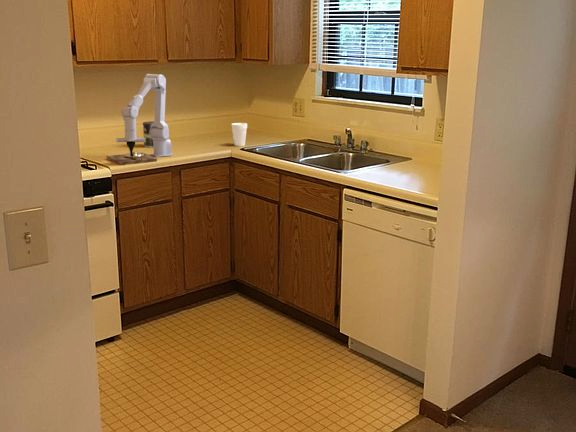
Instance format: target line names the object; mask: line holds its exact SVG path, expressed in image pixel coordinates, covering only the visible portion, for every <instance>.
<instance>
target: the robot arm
mask: <svg viewBox="0 0 576 432" xmlns="http://www.w3.org/2000/svg"><path fill="white" fill-rule="evenodd" d="M166 87H167V79H166V77H165V75H163V74H161V73H160V74H156V73H155V74H154V73H152V74H151V73H146V74H145V77H144V78H143V83H142V85H141V86H140V89H139V91H138V92H137V94H134V95H132V97H131V99H130V100H129V102H128V104H127V105H126V106H124V107H123V108H122V109H121V111H120V112H121V116H122V118H123V122H124V137H119V138H118V137H116V141H115V142H116V143H126V145H127V147H128V149H129V153H130V156H133V155H132V152H134V147H135V145H136V143H144V142H145V138H144V137H137V119H136V118H138V115H139V111H140V108H141V106H142V105H143V104H144V98H145V96H146V95H147V94H148V92H149V91H150V90H151V89H152V90H153V92H155V95H154V97H155V99H154V100H155V101H154V122H153V123H152V124H151V128H150V132H149V134H150V136H151V137H152V139H153V153H151V154H150V156H152V157H154V158H161V157H168V156H173V153H172V151H173V150H172V141H171V139H170V138H169V136H170V130H169V125H168V124H167V123H166V122H165V119H166V118H165V117H166V95H167V94H166V91H167V89H166Z"/></svg>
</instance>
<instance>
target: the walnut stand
mask: <svg viewBox="0 0 576 432" xmlns="http://www.w3.org/2000/svg"><path fill="white" fill-rule="evenodd" d="M143 153H144V152H143ZM125 154H126V153H124V154H114V155H107V156H106V159H107V160H109V161H111V162H112V163H115V164H117V165H119V166H125V164H128V165H136V164H145V163H152V162H153V163H154V162H158V159H157V158H158V157H155V156H153V155H151V154H150V155H149V154H148V153H144V156H143V154H141V157H139V158H137V159H132V158H128V157H125Z"/></svg>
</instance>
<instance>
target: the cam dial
mask: <svg viewBox="0 0 576 432" xmlns="http://www.w3.org/2000/svg"><path fill="white" fill-rule="evenodd" d="M124 154H125V157H128V158H132V159H137V158H139V157H141V154H143V156H144V152H137V151H132V155H133V156H130V152H127V153H124Z"/></svg>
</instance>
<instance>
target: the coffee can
mask: <svg viewBox="0 0 576 432" xmlns="http://www.w3.org/2000/svg"><path fill="white" fill-rule="evenodd" d="M153 122H154V121H150V120H149V121H144V122H142V127H143V128H142V129H143V130H142V131H143V138H145V142H143V147H145V148H150V149H151V148H153V139H152V137H151V136H150V134H149V132H150V128H151V124H152V123H153Z"/></svg>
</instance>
